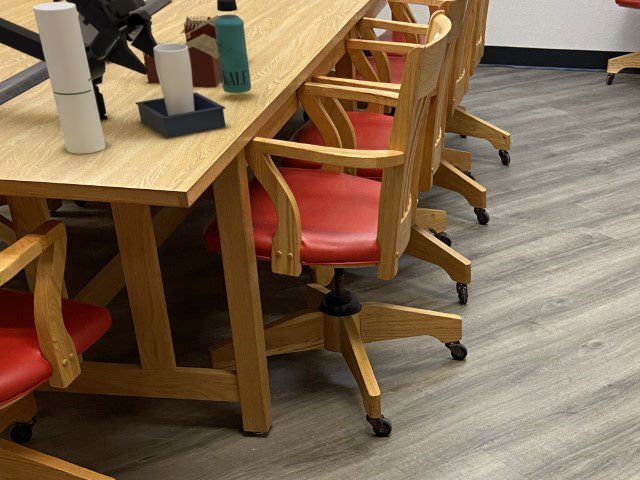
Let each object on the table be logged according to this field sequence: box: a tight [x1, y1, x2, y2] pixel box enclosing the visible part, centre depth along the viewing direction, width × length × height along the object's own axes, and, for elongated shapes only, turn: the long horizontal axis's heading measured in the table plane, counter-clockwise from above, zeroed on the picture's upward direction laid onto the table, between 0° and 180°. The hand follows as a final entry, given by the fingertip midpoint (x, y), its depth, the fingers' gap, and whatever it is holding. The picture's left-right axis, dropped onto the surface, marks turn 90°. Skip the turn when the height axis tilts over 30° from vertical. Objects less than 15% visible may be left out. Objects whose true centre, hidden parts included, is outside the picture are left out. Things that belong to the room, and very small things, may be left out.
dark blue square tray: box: [135, 91, 226, 139], centre depth 198 cm, size 13×13×4 cm
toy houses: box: [142, 14, 222, 88], centre depth 237 cm, size 45×20×10 cm, turn 1°
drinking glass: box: [153, 42, 195, 116], centre depth 195 cm, size 7×7×15 cm
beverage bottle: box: [214, 0, 252, 94], centre depth 210 cm, size 6×7×20 cm
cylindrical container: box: [32, 1, 106, 155], centre depth 179 cm, size 7×7×25 cm
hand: (156, 67), depth 193 cm, fingers open, 9 cm apart
